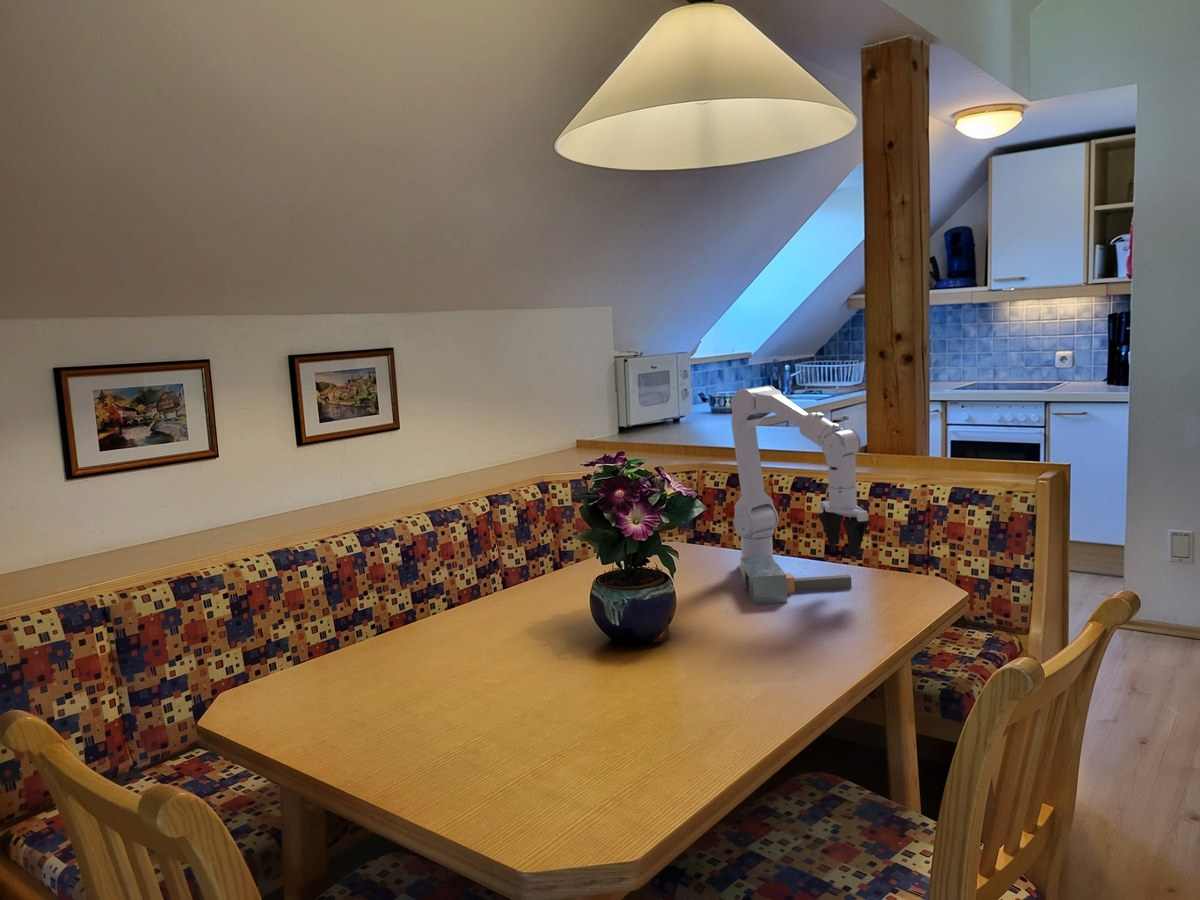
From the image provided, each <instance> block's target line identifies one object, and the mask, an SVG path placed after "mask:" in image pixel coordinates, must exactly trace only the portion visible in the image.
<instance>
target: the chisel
mask: <svg viewBox="0 0 1200 900" xmlns="http://www.w3.org/2000/svg"><path fill="white" fill-rule="evenodd" d="M785 574H786V583H787V595H788V594H795V593H797V592H811V591H812V592H814V591H816V592H817V591H827V590H828V591H829V590H842V589H843V590H844V589H847V590H848V589H852V576H851V575H850V574H839V575H826V576H810V577H796V578H795V577H794V575H792V573H789V572H788V573H785Z"/></svg>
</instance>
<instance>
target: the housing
mask: <svg viewBox="0 0 1200 900" xmlns="http://www.w3.org/2000/svg"><path fill="white" fill-rule="evenodd" d="M739 558H740V564H741V570H740V577H741V579H740V580H741V585H742V587H743V589H744V590H745V591H749V592H748V593H749V598H750V599H751V602H752V603H753V604H754V605H766V604H780V603H784V604H785V603H788V594H787V583H786V573H785V571H784V570H783V569H782V567H781V566H780V565H779V564H778V562H777V561H776V560H775V559H774V557H773V558H772V557H771V556H761V557H746V558H742V557H739Z"/></svg>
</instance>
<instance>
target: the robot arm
mask: <svg viewBox="0 0 1200 900" xmlns="http://www.w3.org/2000/svg"><path fill="white" fill-rule="evenodd" d="M730 405H731V413H732V415H731V429H732V437H733V443H734V452H735V459H736V465H737V473H738V480H739V487H740V494H741V496H740V497H739V498H738V500H737V501H736V503H735V504H734V507H733V508H734V517H733V526H734V529H735V530H736V532H737V534H738V536H739V537H740V539H741V540H740V552H741V558H746V557H761V556H771V557H772V558H773V559H774V555H773V554H774V553H773V552H774V549H773V534H774V533H775V530H774V529H776V528H777V526H778V524H779V515H778V510H776V509H777V508H775V505H774V499H773V498H772V497H770V496H769V494H767V493H766V490H765V485H764V477H763V471H762V463H761V456H760V448H759V442H758V436H757V435H758V434H757V426H758V425H759V424H760V423H761V421H763V419H764V418H766V417H767V416H768V415H770V414H772V413H773V414H775V415H777V416H779V417H780V418H783V419H785V421H788V422H790V423H792V424H793V425H796V426H797V427H799V428H798V429H799V433H800V435H802V436H803V437H804V438H806V439H808V440H809V441H811V442H812V443H814V444H815V445H817V446H818V447H820V449H821V452H822V453H823V455H824V457H825V460H826V461H825V463H826V464H827V474H828V475H827V477H828V482H827V483H828V500H823V501H819V510H820V511H821V513H820V512H819V513H817V518H818V519H819V521H820V522H821V524H822V527H823V529H824V532H825V535H826V539H827V542H828V543H827V544H828V545H829V546H836V545H839V544H840V539H841V538H840V537H841V524H842V525H843V526H844V530H845V532H846V536H847V546H848V551H849V553H851V554H852V553H853V554H854V553H859V552H860V551H861V548H862V547H861V546H862V544H863V543H862V542H863V539H864V535H865V533H866V531H867V529H868V527H869V526H870V524H871V520H870V519H868V511H867V510H864V509H863V508H861V507H860V506H859V505H858V504H857V503H858V501H857V467H856V465H857V464H856V463H857V462H856V461H857V460H856V454H858V452H859V451H860V449H861V445H862V444H861V443H862V442H861V438H860V435H859V434H858V432H856V431H855V430H854V429H853V428H850V427H849V428H847V427H846V428H842V427H841V425H840V424H838V423H833V422H832V421H830V420H829V419H827V418H825V417H824V416H825V415H824V414H823V412H811V413H808V412H806V411H805V410H804V409H802V408H801V407H799V406H798V405H797V404H795V403H794V402H792V401H791V400H790V399H788V398H787V397H785V396H784V395H783V394H782V391H781V390H780V389H776V388H775V387H774V386H772V385H771V384H770V385H768V384H767V385H764V386H756V387H751V388H740V389H738V390H737V391H735V393H734V394H733V396H732V397H731V399H730ZM843 517H847V518H849V519H845V520H843ZM737 567H738V568H739V570H740V571H741V563H737Z"/></svg>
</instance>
